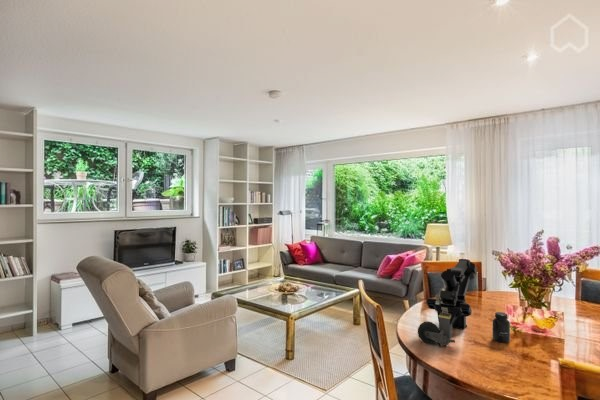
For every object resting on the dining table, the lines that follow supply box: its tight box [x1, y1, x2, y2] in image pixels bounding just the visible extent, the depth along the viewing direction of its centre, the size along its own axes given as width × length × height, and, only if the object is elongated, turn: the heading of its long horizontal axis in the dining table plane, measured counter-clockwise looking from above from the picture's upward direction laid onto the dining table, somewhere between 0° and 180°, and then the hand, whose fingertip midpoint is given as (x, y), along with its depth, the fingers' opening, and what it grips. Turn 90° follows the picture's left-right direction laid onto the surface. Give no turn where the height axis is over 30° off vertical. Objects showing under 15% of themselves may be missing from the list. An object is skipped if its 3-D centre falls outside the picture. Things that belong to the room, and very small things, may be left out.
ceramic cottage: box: [435, 284, 448, 313], centre depth 206 cm, size 16×16×15 cm
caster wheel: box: [417, 320, 456, 348], centre depth 155 cm, size 6×10×15 cm
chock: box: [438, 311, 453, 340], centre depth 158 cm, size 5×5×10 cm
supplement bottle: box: [492, 311, 511, 344], centre depth 158 cm, size 7×7×12 cm
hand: (444, 323), depth 157 cm, fingers closed on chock, 4 cm apart
